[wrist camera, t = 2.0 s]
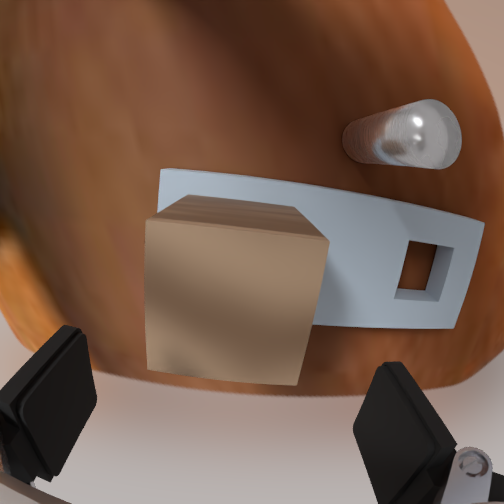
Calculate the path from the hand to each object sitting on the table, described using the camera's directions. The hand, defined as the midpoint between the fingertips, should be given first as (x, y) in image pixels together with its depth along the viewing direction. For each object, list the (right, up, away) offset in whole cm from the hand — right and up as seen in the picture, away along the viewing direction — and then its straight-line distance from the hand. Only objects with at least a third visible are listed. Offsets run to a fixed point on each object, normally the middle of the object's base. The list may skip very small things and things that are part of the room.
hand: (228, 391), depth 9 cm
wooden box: (0, +4, +12) cm, 13 cm away
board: (+7, +4, +15) cm, 17 cm away
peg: (+9, +13, +13) cm, 20 cm away
